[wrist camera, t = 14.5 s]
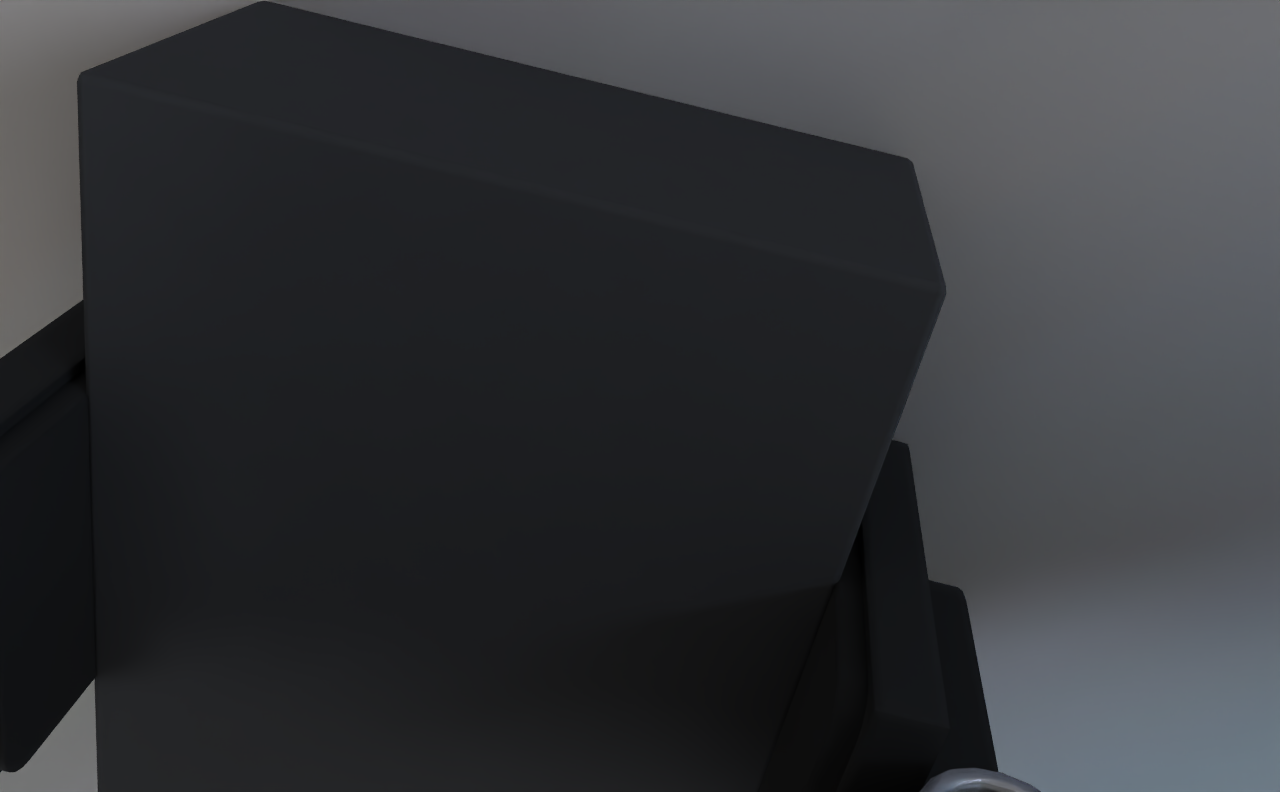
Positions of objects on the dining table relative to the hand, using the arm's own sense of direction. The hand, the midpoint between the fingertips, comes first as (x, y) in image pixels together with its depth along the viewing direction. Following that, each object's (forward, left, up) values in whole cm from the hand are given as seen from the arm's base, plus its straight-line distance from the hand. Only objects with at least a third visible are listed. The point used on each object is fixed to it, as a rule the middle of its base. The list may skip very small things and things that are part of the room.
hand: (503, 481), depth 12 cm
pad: (+2, 0, -1) cm, 2 cm away
